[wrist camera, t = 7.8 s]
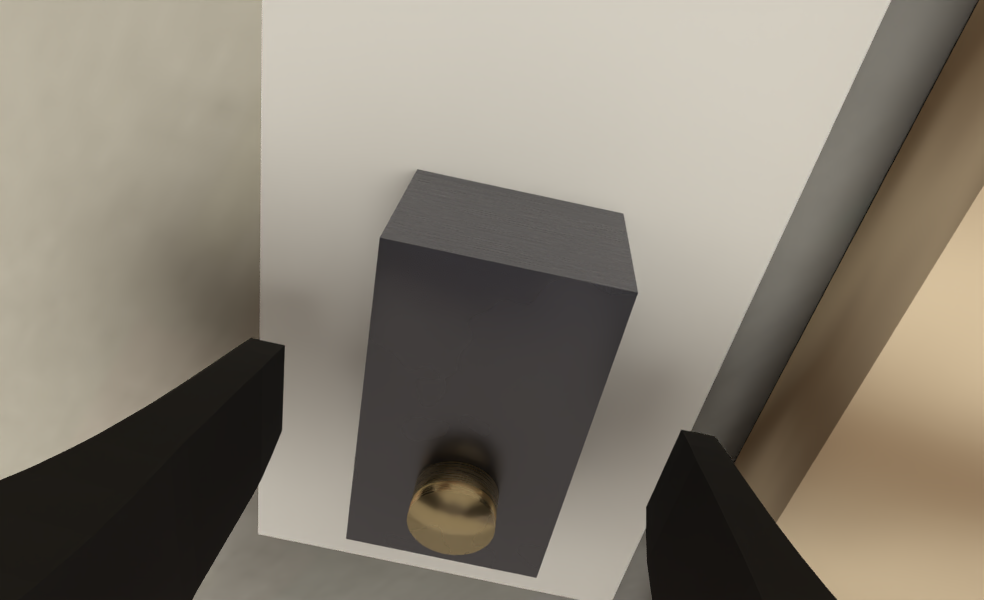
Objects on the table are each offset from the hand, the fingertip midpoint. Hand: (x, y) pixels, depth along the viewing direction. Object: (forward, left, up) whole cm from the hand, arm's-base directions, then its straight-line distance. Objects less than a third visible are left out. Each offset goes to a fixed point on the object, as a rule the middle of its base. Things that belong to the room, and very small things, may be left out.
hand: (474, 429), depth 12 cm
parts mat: (0, 0, -3) cm, 3 cm away
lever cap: (0, 0, -3) cm, 3 cm away
